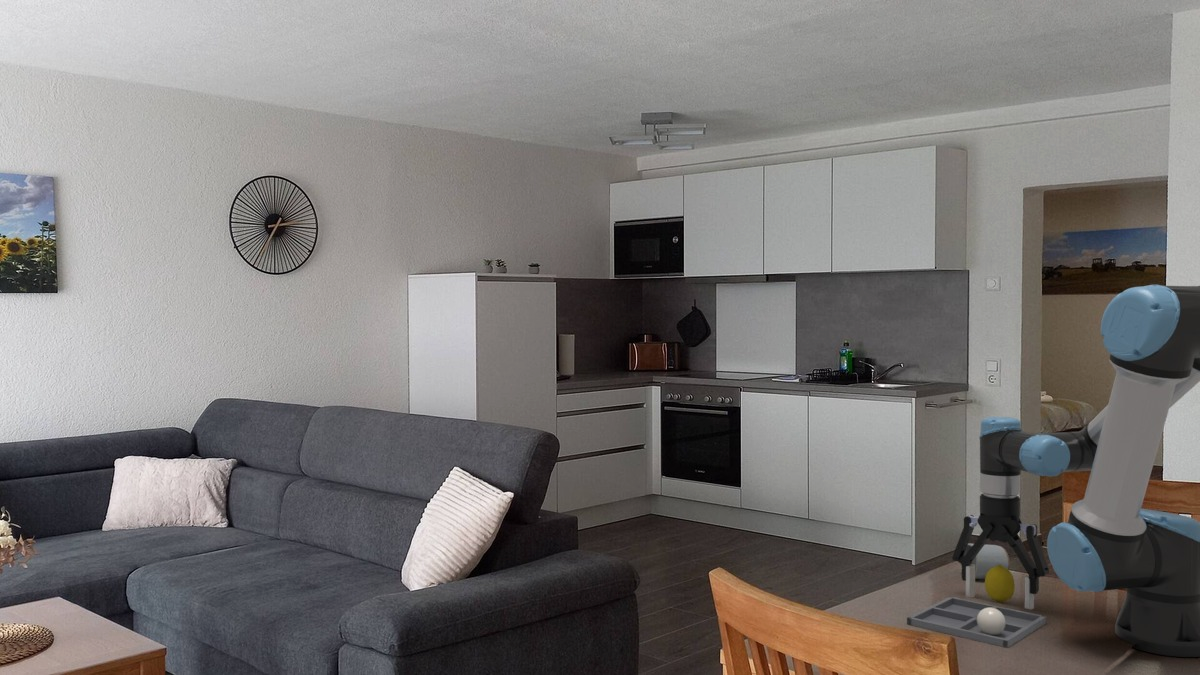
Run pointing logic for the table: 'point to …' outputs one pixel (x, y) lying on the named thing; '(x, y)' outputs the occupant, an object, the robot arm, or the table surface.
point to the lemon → (999, 584)
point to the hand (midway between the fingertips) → (999, 603)
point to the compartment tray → (975, 621)
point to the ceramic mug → (988, 559)
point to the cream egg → (991, 621)
